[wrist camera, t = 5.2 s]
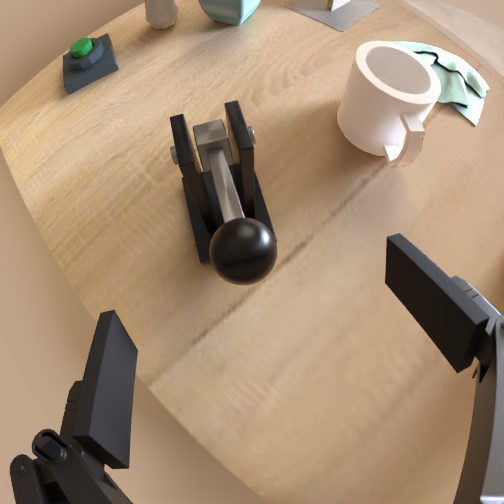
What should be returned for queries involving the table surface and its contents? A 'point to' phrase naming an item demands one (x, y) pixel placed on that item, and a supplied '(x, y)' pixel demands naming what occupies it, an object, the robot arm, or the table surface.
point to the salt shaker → (161, 13)
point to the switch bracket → (202, 184)
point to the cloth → (453, 79)
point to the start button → (81, 48)
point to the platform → (335, 11)
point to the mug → (388, 101)
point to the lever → (233, 216)
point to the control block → (89, 64)
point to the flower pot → (229, 10)
